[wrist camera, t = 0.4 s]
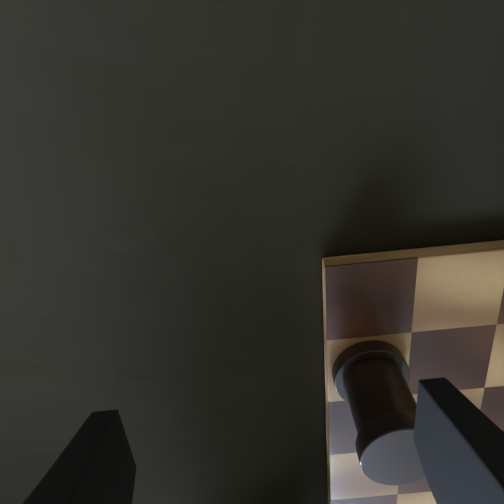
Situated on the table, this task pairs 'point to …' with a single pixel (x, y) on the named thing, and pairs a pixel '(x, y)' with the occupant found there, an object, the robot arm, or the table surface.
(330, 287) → the chessboard
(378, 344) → the rook
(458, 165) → the table surface
